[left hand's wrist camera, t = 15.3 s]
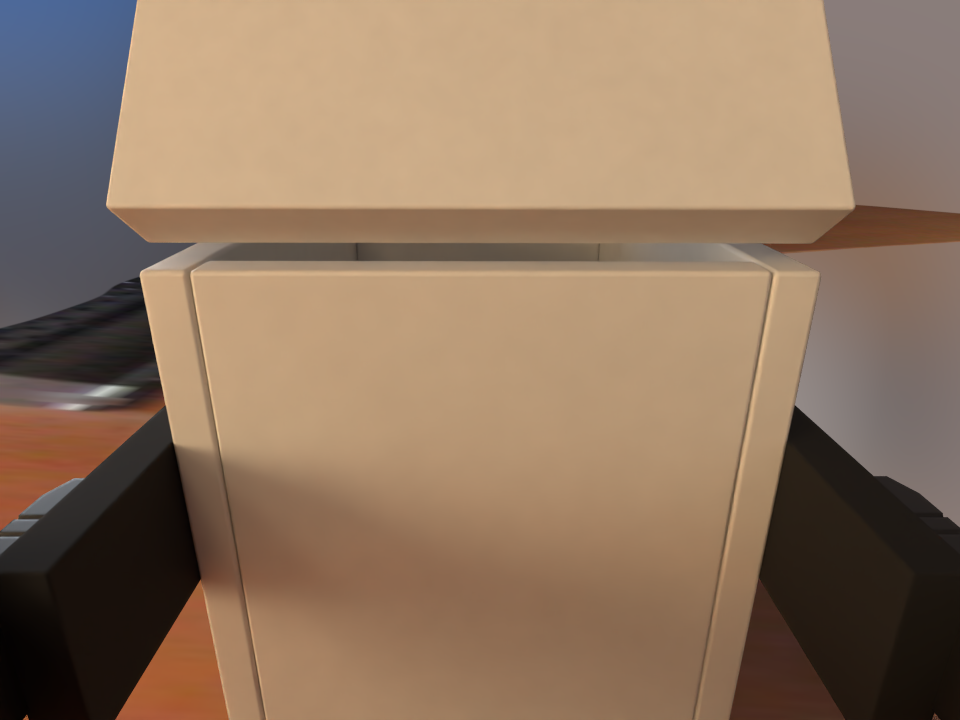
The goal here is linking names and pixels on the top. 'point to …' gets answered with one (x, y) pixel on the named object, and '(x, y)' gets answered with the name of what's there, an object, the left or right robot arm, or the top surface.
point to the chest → (479, 470)
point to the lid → (480, 122)
